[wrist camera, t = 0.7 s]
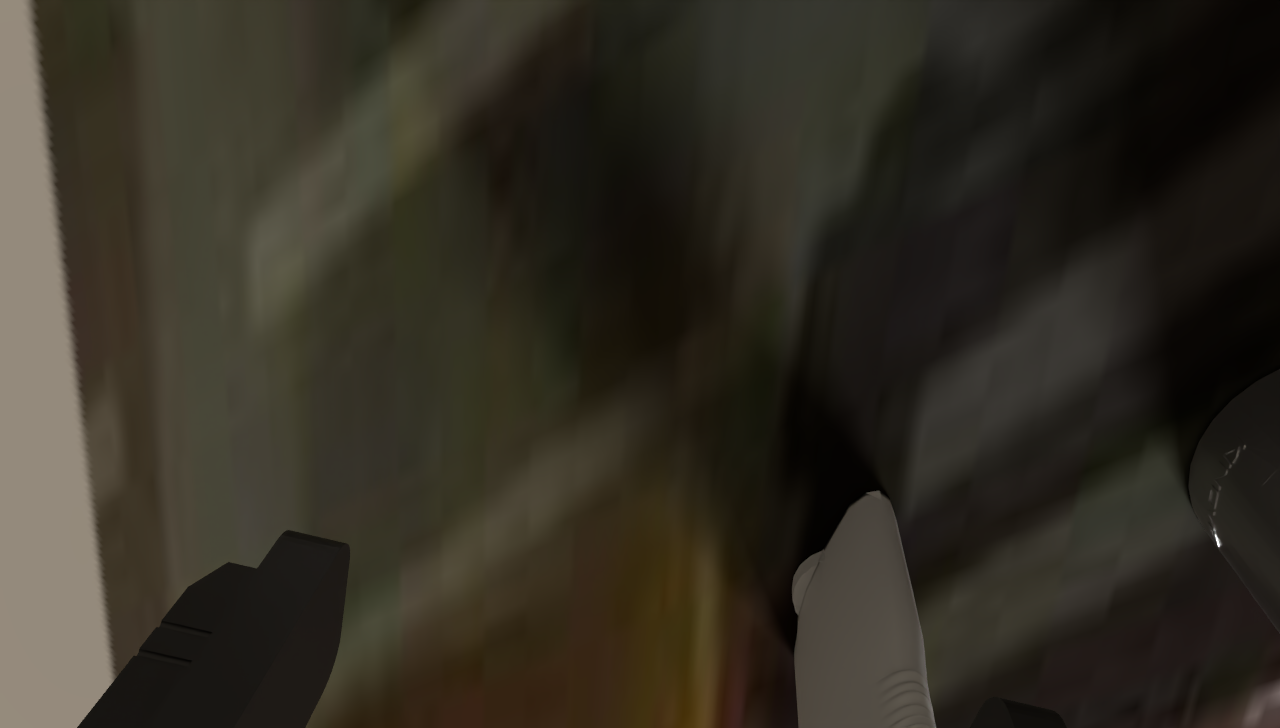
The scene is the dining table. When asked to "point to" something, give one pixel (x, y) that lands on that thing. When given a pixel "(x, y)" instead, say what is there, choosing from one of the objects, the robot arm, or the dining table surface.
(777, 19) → the dining table surface
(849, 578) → the tall pale column
